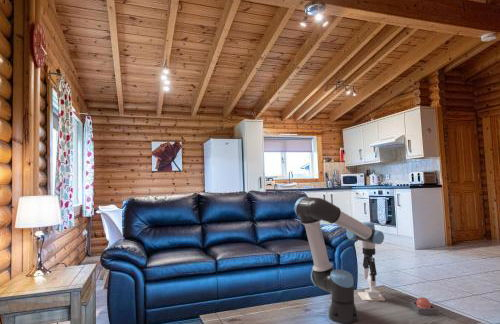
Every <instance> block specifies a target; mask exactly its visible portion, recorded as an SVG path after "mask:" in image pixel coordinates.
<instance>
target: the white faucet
mask: <svg viewBox="0 0 500 324" xmlns="http://www.w3.org/2000/svg"><path fill="white" fill-rule="evenodd" d="M370 274H371V272H370V270H369V271H368V279H367V285H368V286H369V289H364V292H366V293H367V295H368V297H369V298H378V296H379V294H381V291H380V290H378V289H375V286H371V277H370Z"/></svg>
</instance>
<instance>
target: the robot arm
mask: <svg viewBox="0 0 500 324" xmlns="http://www.w3.org/2000/svg"><path fill="white" fill-rule="evenodd" d="M293 209H294V213H295V215H296V216H297V217H299V220H300V223H301V224H302V225H304V228H305V231H306V232H305V233H306V236H307V240H308V245H309V249H310V253H311V256H312V257H311V258H312V262H313V266H312V270H311V273H310V280H311V283H312V284H313V285H314V286H315V287H316V288H318V289H320V290H323V291H326V292H328V293H329V294H330V296H331V303H330V306H329V310H328V317H329V319H330V320H332V321H334V322H337V323H340V324H354V323H355V322H356V323H357V322H358V320H359V313H358V309H357V307H356V304H355V285H354V284H355V283H354V277H353V274H352V273H351V272H349V271H347V270H345V269H334V265H333V263H332V262H330V259H329V257H328V252H327V247H326V244H325V239H324V235H323V231H322V228H321V227H322V226H321V223H320V222H321V221H323V222H327V223H329V224H330V225H331V224H332V225H333V224H335V225H337V226H339V227H340V228H343V229H344V230H346V232H345V234H346V237H347V239H348V240H350V241H361V246H362V254H363V259H362V267H363V279H364V280H368V271H370V272H371V274H370V277H371V286H374V287H377V283H376V281H377V279H376V276H377V268H376V267H377V266H376V262H375V257H373V256H375V255H376V245H381V244H383V242H384V240H385V234H384V233H383V232H382V231H381V230H377V229H376V227H375V223H374V222H371V221H363V222H361V221H360V220H358V219H356V218H354V217H353V216H350V215H349V214H347V213H346V212H343V211H342V209H341V208H340V207H339V206H337V205H335V204H334V203H332V202H330V201H328V200H326V199H324V198H322V197H321V198H320V197H311V196H310V197H309V196H303V197H299V198H298V199H297V200H296V202H295V204H294V208H293Z"/></svg>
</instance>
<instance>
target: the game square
mask: <svg viewBox="0 0 500 324" xmlns="http://www.w3.org/2000/svg"><path fill="white" fill-rule="evenodd" d="M357 294H358V296H359V297H360V299H361V300H362V301H363V302H365V301H367V302H368V301H369V302H371V301H372V302H374V301H375V302H380V301H382V302H385V301H386V298H385V297H384V296H383V295H382V294H381V293H380V294H379V296H378V298H369V297H368V295H367V293H366V291H357Z"/></svg>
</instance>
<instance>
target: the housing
mask: <svg viewBox="0 0 500 324" xmlns="http://www.w3.org/2000/svg"><path fill="white" fill-rule="evenodd" d="M409 304H410V305H409V307H410V308H411V309H412V310H413V311H414V312H415V313H416V314H417V315H421V316H424V315H426V316H427V315H433V316H435V315H439V312H438V311H439V310H438V308H437V307H436V306H434V305H433V304H432V303H431V302H430V304H431V308H419V307H417V306H416V301H410V303H409Z"/></svg>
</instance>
